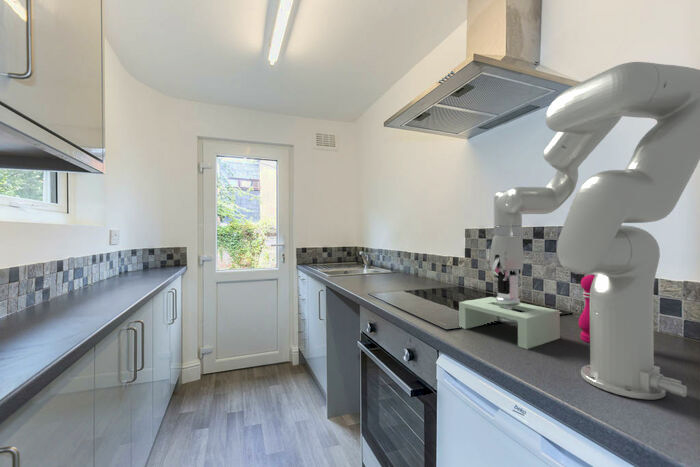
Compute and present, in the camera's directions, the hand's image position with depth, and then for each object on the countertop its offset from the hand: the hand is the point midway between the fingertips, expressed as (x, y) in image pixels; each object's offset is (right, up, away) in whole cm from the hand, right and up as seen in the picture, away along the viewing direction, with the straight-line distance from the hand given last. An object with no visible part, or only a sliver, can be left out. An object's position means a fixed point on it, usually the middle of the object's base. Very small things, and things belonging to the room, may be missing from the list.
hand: (508, 291), depth 92 cm
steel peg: (0, -9, 0) cm, 9 cm away
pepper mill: (+20, -12, -8) cm, 25 cm away
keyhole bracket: (0, -12, 0) cm, 12 cm away
